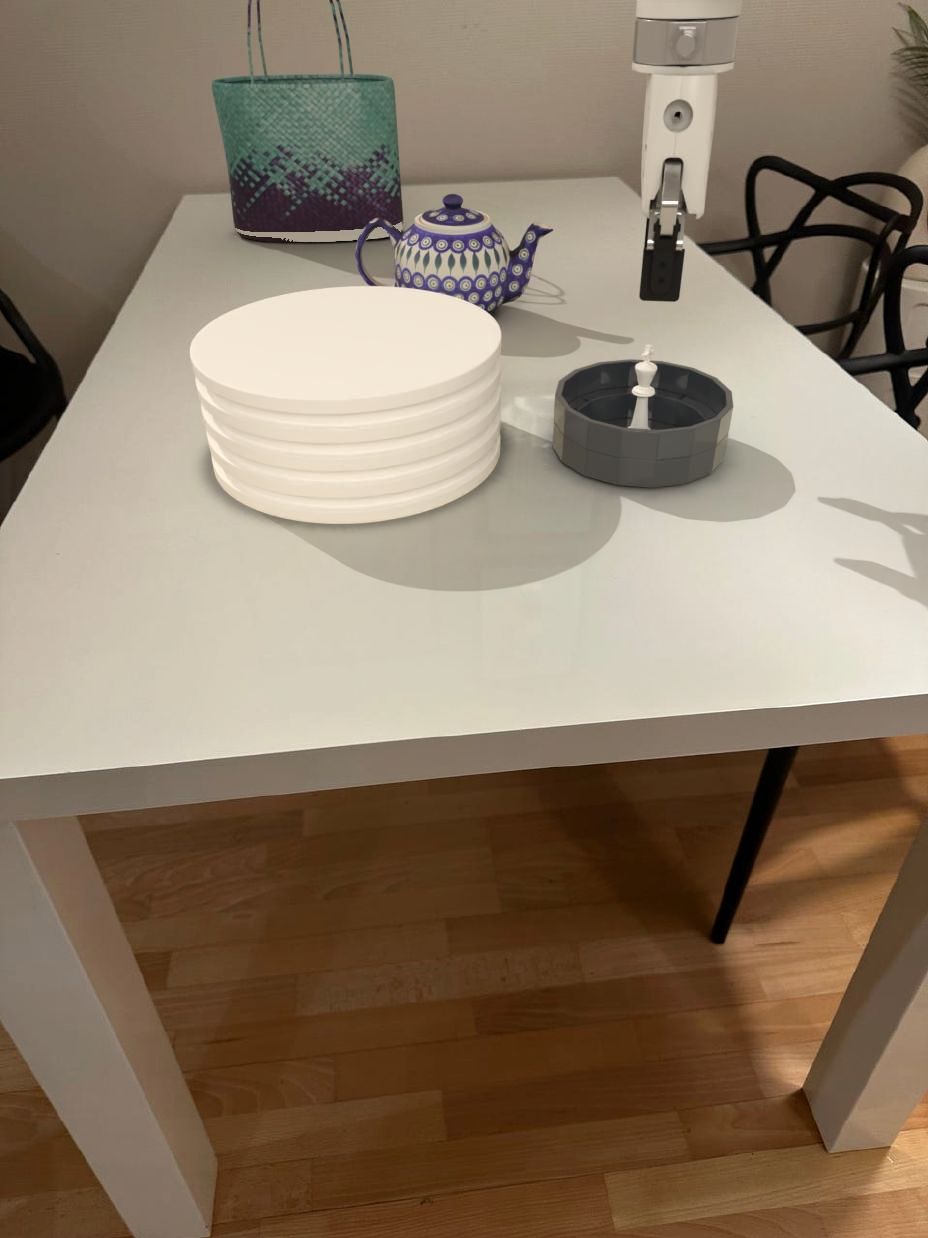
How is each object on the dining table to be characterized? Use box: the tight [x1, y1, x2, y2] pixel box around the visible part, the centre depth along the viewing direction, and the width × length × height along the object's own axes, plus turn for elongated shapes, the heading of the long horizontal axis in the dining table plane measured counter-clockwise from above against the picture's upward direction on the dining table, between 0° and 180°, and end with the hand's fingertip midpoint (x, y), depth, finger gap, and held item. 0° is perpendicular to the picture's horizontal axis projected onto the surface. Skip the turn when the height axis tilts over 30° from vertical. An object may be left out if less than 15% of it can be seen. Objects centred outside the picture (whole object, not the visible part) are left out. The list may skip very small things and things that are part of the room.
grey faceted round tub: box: [552, 358, 734, 489], centre depth 85 cm, size 16×16×6 cm
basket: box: [211, 0, 404, 243], centre depth 138 cm, size 28×12×40 cm, turn 88°
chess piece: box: [628, 343, 657, 429], centre depth 84 cm, size 5×5×10 cm
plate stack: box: [189, 285, 503, 525], centre depth 85 cm, size 28×28×12 cm
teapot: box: [354, 193, 554, 315], centre depth 114 cm, size 25×15×15 cm, turn 85°
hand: (659, 281), depth 77 cm, fingers open, 9 cm apart
